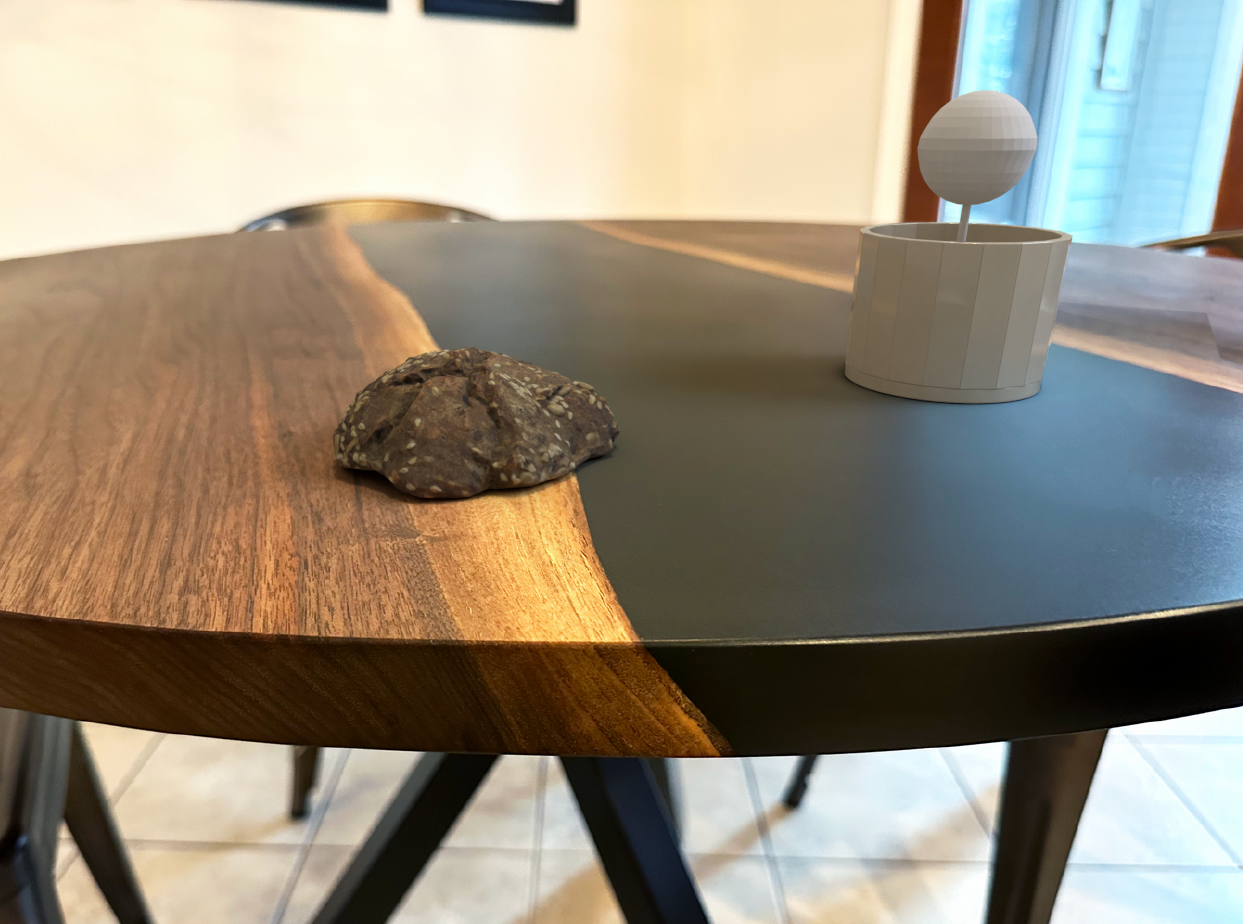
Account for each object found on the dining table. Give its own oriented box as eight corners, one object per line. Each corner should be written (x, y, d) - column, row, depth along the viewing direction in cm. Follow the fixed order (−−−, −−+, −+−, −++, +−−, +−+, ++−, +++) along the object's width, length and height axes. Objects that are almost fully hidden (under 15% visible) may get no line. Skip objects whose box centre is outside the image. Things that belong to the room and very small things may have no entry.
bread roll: (443, 402, 53) (438, 312, 51) (644, 435, 47) (648, 335, 45) (275, 470, 42) (261, 362, 41) (506, 524, 37) (502, 400, 35)
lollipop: (867, 358, 58) (901, 91, 52) (940, 349, 60) (980, 91, 54) (942, 381, 53) (990, 87, 47) (1019, 370, 55) (1074, 88, 49)
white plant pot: (972, 353, 62) (995, 219, 59) (1084, 398, 52) (1119, 240, 49) (815, 360, 61) (829, 223, 58) (898, 408, 51) (921, 245, 48)
